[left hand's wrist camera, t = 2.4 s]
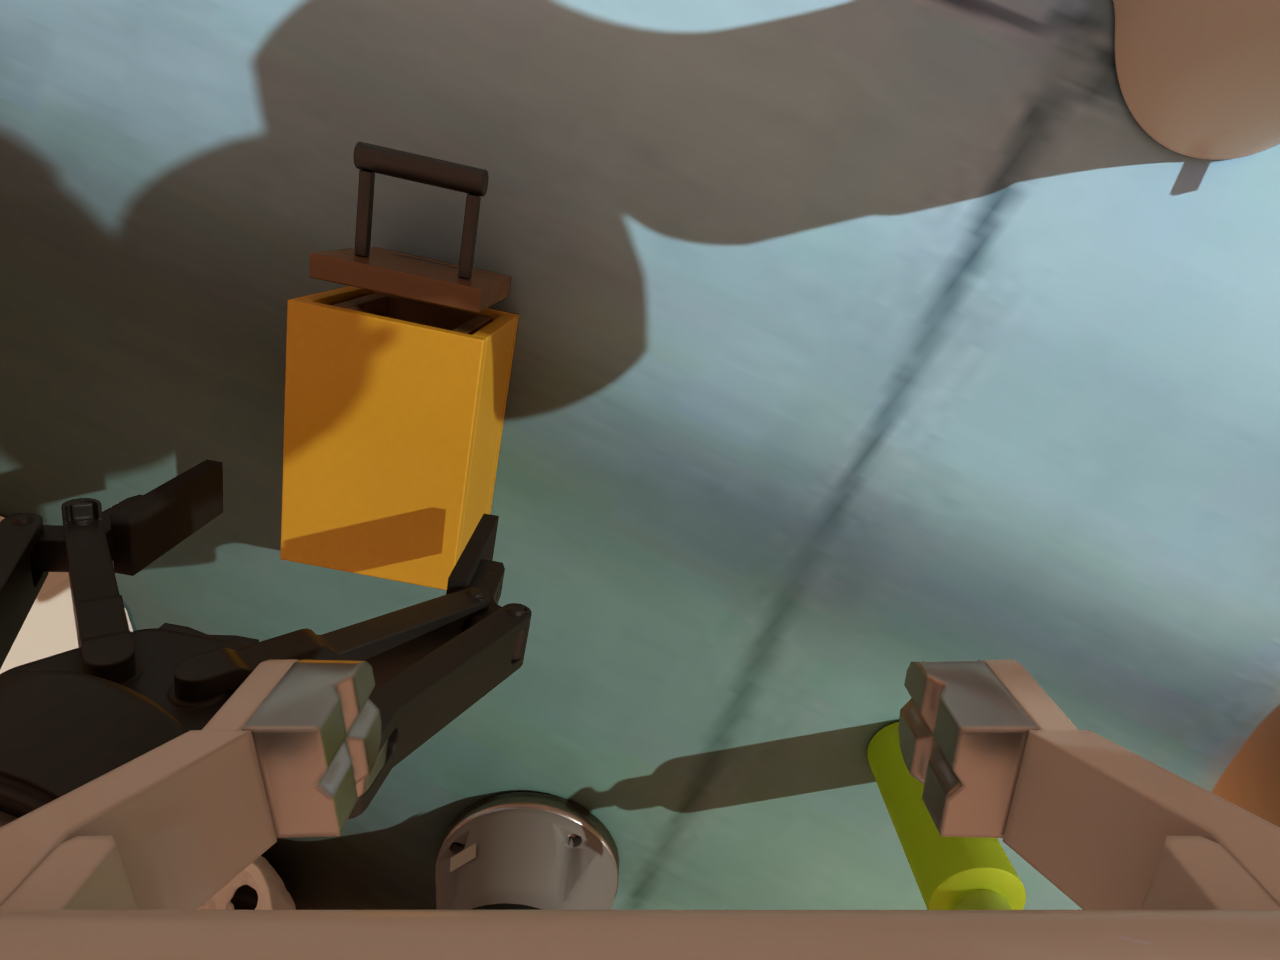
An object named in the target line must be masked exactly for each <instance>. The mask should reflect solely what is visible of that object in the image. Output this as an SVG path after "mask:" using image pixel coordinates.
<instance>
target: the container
mask: <svg viewBox="0 0 1280 960" xmlns="http://www.w3.org/2000/svg"><path fill="white" fill-rule="evenodd" d="M3 519H4V517H1V516H0V522H1V521H2V520H3ZM125 613H126V617H127V621H128V626H129V630H130V631H131V632H132V631H133V629H132V626H131V623H130V620H129V617H128V614H127V611H126V609H125ZM76 648H79V647H78V640H77V633H76V625H75V618H74V611H73V603H72V596H71V589H70V582H69V573H68V572H48V576H47V578H46V580H45V582H44V584H43V586H42V588H41V590H40V592H39V594H38V596H37V598H36V600H35V602H34V604H33V606H32V608H31V610H30V612H29V614H28V616H27V618H26V619H25V621H24V623H23V625H22V627H21V629H20V631H19V633H18V635H17V637H16V639H15V641H14V643H13V645H12V647H11V649H10V651H9V653H8V655H7V657H6V659H5V661H4V663H3V665H2V667H1V669H0V674H1V673H3V672H5V671H7V670H9V669H12V668H14V667H17V666H20V665H23V664H26V663H30V662H33V661H36V660H39V659H43V658H46V657H49V656H53V655H56V654H59V653H63V652H66V651H69V650H72V649H76Z"/></svg>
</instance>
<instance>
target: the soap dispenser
mask: <svg viewBox="0 0 1280 960" xmlns="http://www.w3.org/2000/svg"><path fill="white" fill-rule="evenodd" d="M898 727H899V722H896V723H893V724H890V725H888V726H886V727H884V728H883V729H881V730H880V731H879V732H878V733H876V734H875V736H874V737H873V738H872V740H871V741H870V743H869V746H868V749H867V758H868V762H869V765H870V767H871V770H872V772H873V775H874V777H875V780H876V782H877V784H878V787H879V789H880V792H881V794H882V797H883V799H884V802H885V804H886V807H887V809H888V812H889V814H890V817H891V819H892V822H893V824H894V827H895V829H896V832H897V834H898V837H899V839H900V842H901V844H902V847H903V849H904V852H905V854H906V857H907V859H908V862H909V864H910V867H911V869H912V872H913V874H914V877H915V879H916V882H917V884H918V887H919V889H920V892H921V894H922V897H923V899H924V902H925V904H926V907H927V909H928V910H1023V908H1024V905H1025V901H1026V892H1025V889H1024V886H1023V884H1022V882H1021V881H1020V879H1019V877H1018V875H1017V874H1016V872H1015V870H1014V868H1013V866H1012V865H1011V863H1010V861H1009V859H1008V857H1007V856H1006V854H1005V852H1004V850H1003V848H1002V847H1001V845H1000V843H999V841H998V839H997V838H984V837H949V836H940V834H939V832H938V830H937V828H936V826H935V824H934V822H933V820H932V818H931V816H930V814H929V812H928V810H927V808H926V806H925V804H924V802H923V800H922V795H923V789H924V784H923V783H921V782H920V781H919V780H917V779H916V778H914V777H913V776H912V775H910V773H909V771H908V769H907V767H906V764H905V762H904V759H903V756H902V752H901V749H900V742H899V731H898Z"/></svg>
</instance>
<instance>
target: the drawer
mask: <svg viewBox="0 0 1280 960" xmlns="http://www.w3.org/2000/svg"><path fill="white" fill-rule="evenodd" d="M354 163H355V166H356V168H358V169H361V170H360V172H359V189H358V206H357V222H356V239H355V248H352V249H342V250H332V251H322V252H313V253H311V254H310V277H311V278H316V279H320V280H325V281H330V282H334V283H339V284H344V285H349V286H353V287H358V288H363V289H368V290H372V291H377V292H379V293H375V294H371V295H367V296H364V297H360V298H356V299H353V300H349V301H345V302H342V303H338V304H334V305H331V306H336V307H341V308H346V309H350V310H355V311H360V312H365V313H369V314H374V315H379V316H384V317H389V318H393V319H398V320H403V321H408V322H412V323H417V324H422V325H427V326H431V327H436V328H441V329H446V330H451V331H455V332H460V333H465V334H470V335H473V334H474V333H476V332H477V331H479V330H480V329H482V328H483V327H485V326H486V325H488V324H489V323H491V322H492V321H493V317H492V316H489V315H484V314H479V312H481V311H483V310H484V309H486V308H488V307H490V306H492V305H493V304H495V303H497V302H499V301H501V300H503V299H504V298H506V297H508V296H509V293H510V285H511V276H507V275H503V274H498V273H493V272H489V271H484V270H479V269H475V268H473V260H474V251H475V243H476V235H477V226H478V218H479V209H480V201H481V196H482V197H483V196H485V194H486V191H487V187H488V172H487V171H486V170H484V169H479V168H475V167H470V166H466V165H461V164H457V163H452V162H448V161H443V160H439V159H435V158H430V157H426V156H421V155H417V154H412V153H408V152H403V151H399V150H394V149H390V148H386V147H381V146H377V145H372V144H368V143H363V142H358V143H357V144H356V146H355V149H354ZM375 173H379V174H383V175H388V176H392V177H397V178H401V179H406V180H410V181H415V182H419V183H424V184H428V185H433V186H437V187H442V188H446V189H451V190H455V191H460V192H464V193H469V194H467V199H466V208H465V217H464V226H463V235H462V244H461V253H460V262H459V265H456V264H451V263H447V262H442V261H438V260H433V259H428V258H424V257H419V256H414V255H410V254H405V253H400V252H396V251H391V250H387V249H382V248H377V247H373V246H372V247H370V240H371V225H372V211H373V196H374V181H375ZM380 292H382V293H380ZM385 293H386V294H385ZM389 294H391V295H389ZM394 295H396V296H394ZM399 296H401V297H399ZM404 297H405V298H404ZM408 298H410V299H408ZM413 299H415V300H413ZM418 300H419V301H418ZM422 301H424V302H422ZM427 302H429V303H427ZM432 303H434V304H432ZM437 304H438V305H437ZM441 305H443V306H441ZM446 306H448V307H446ZM451 307H453V308H451ZM456 308H457V309H456ZM460 309H462V310H460ZM465 310H467V311H465ZM470 311H471V312H470ZM474 312H476V313H474Z"/></svg>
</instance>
